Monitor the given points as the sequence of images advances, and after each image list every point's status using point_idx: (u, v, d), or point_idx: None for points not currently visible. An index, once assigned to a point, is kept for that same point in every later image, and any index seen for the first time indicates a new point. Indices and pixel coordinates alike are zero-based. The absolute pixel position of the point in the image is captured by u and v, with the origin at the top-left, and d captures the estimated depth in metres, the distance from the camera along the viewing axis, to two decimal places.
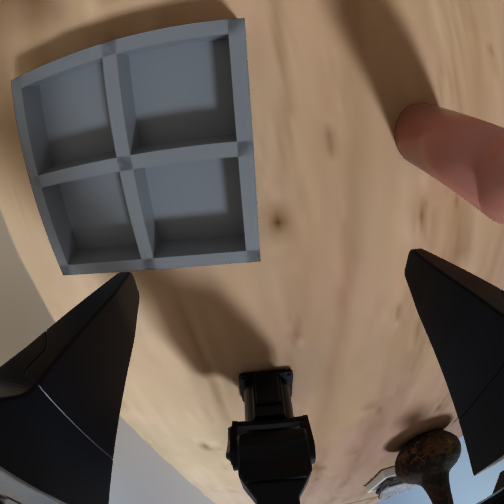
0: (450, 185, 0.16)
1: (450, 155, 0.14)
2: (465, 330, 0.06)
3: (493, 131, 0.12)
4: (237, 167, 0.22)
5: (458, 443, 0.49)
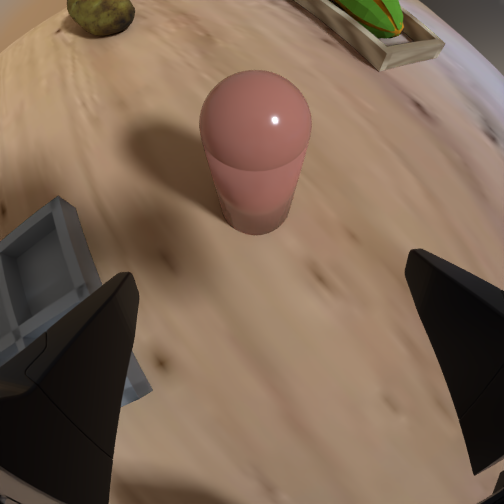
0: (240, 196, 0.17)
1: (211, 170, 0.16)
2: (465, 330, 0.06)
3: None
4: None
5: None
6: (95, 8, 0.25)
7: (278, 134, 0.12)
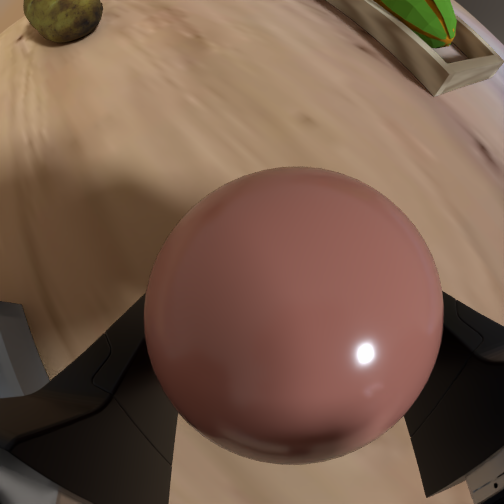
0: None
1: None
2: None
3: None
4: None
5: None
6: (52, 7, 0.17)
7: (372, 438, 0.04)
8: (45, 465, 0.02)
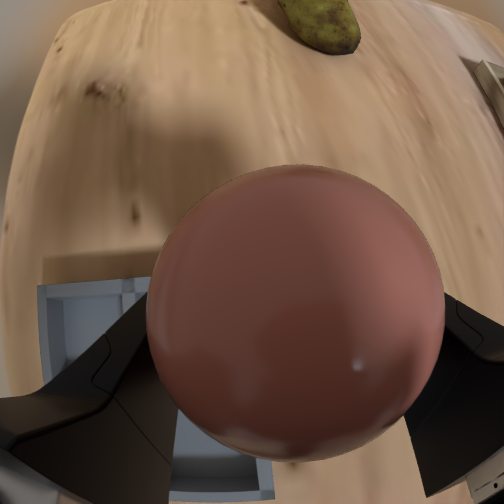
0: None
1: None
2: None
3: None
4: None
5: None
6: (319, 11, 0.24)
7: (374, 435, 0.04)
8: (46, 465, 0.02)
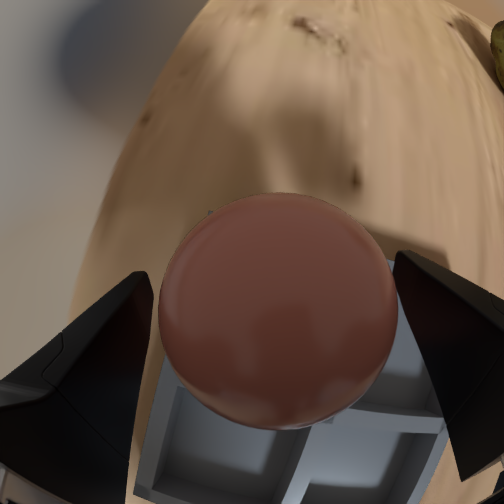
0: None
1: None
2: (452, 334, 0.06)
3: None
4: (410, 442, 0.15)
5: None
6: None
7: (335, 408, 0.05)
8: None
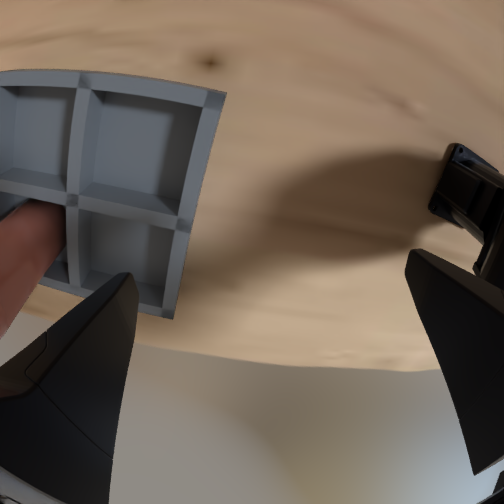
0: (29, 284, 0.16)
1: None
2: (465, 330, 0.06)
3: None
4: None
5: None
6: None
7: None
8: None
